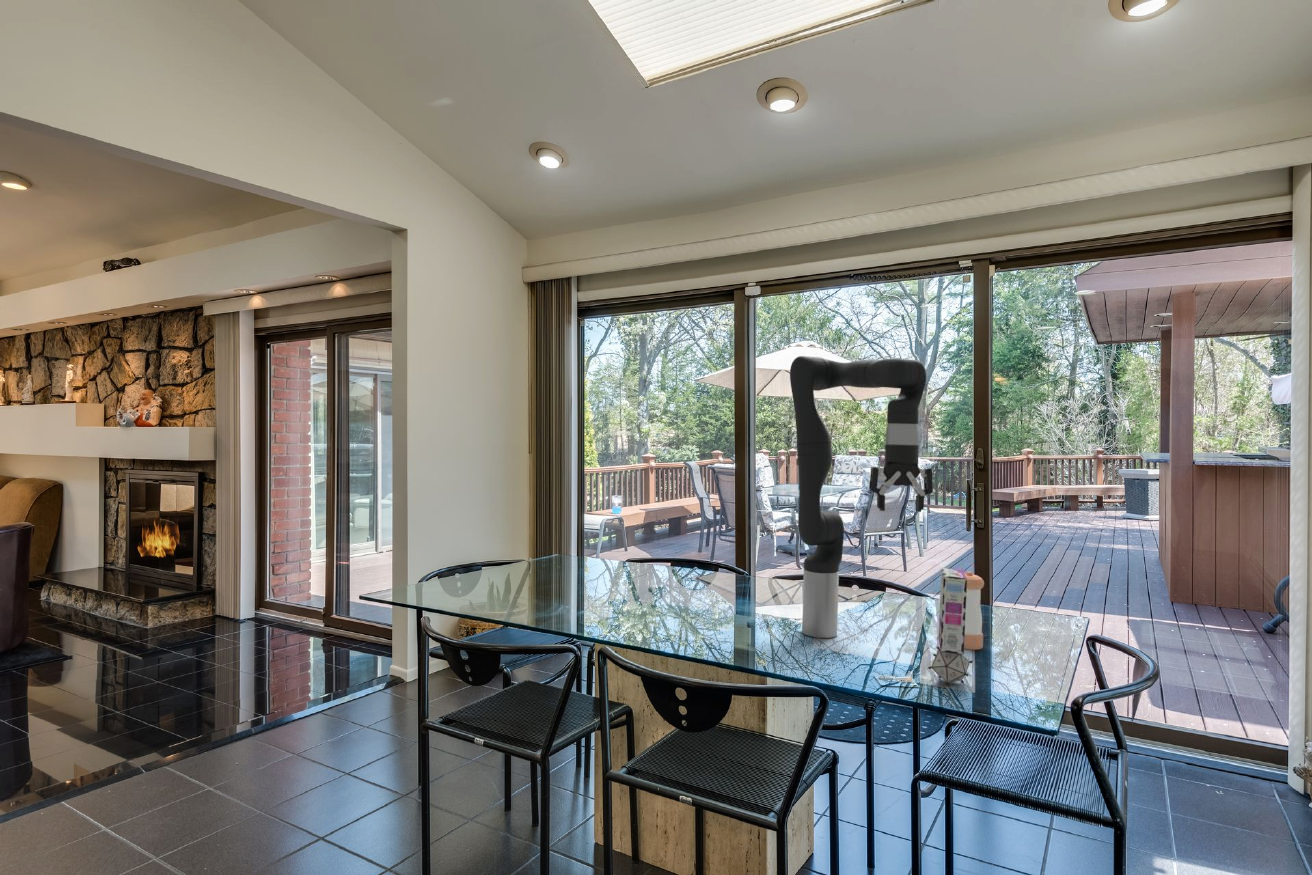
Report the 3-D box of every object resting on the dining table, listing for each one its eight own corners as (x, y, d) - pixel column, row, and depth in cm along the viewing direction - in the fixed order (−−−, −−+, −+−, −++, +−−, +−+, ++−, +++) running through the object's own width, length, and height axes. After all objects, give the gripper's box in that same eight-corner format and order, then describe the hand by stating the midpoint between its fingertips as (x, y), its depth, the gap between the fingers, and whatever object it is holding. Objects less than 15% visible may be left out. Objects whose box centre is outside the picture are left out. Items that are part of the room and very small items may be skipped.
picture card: (873, 676, 162) (873, 674, 162) (910, 677, 161) (910, 676, 161) (881, 686, 156) (881, 684, 156) (918, 687, 155) (918, 685, 155)
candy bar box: (965, 655, 153) (967, 578, 152) (940, 652, 154) (942, 576, 154) (961, 641, 163) (963, 568, 163) (938, 638, 165) (940, 567, 165)
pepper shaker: (965, 650, 183) (967, 575, 183) (946, 642, 190) (948, 569, 190) (989, 648, 185) (991, 574, 184) (969, 640, 192) (971, 568, 192)
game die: (942, 700, 158) (914, 663, 159) (950, 676, 165) (924, 640, 165) (978, 690, 153) (950, 651, 153) (985, 666, 159) (958, 629, 159)
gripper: (927, 443, 175) (925, 510, 175) (867, 442, 176) (865, 508, 176) (937, 444, 167) (935, 513, 168) (875, 442, 168) (873, 512, 168)
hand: (900, 511), depth 172 cm, fingers open, 8 cm apart
